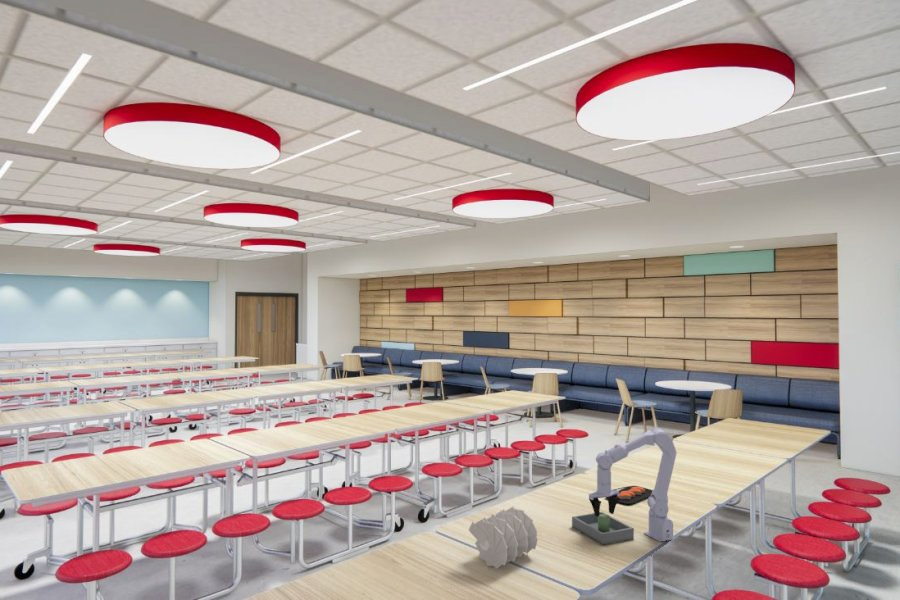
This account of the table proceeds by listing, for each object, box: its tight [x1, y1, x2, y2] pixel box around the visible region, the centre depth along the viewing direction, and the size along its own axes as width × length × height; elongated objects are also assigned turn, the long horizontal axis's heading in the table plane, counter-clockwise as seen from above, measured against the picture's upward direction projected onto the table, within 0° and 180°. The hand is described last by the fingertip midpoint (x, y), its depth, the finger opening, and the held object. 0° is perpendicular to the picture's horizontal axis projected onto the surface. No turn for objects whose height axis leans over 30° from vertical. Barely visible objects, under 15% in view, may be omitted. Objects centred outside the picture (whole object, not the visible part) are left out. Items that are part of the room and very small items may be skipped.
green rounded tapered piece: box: [598, 513, 610, 533], centre depth 227 cm, size 5×5×6 cm
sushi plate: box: [605, 485, 654, 505], centre depth 279 cm, size 29×30×4 cm
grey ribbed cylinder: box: [468, 506, 539, 570], centre depth 201 cm, size 18×18×25 cm
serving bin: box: [571, 511, 635, 546], centre depth 226 cm, size 20×16×4 cm
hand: (604, 514), depth 227 cm, fingers open, 7 cm apart
